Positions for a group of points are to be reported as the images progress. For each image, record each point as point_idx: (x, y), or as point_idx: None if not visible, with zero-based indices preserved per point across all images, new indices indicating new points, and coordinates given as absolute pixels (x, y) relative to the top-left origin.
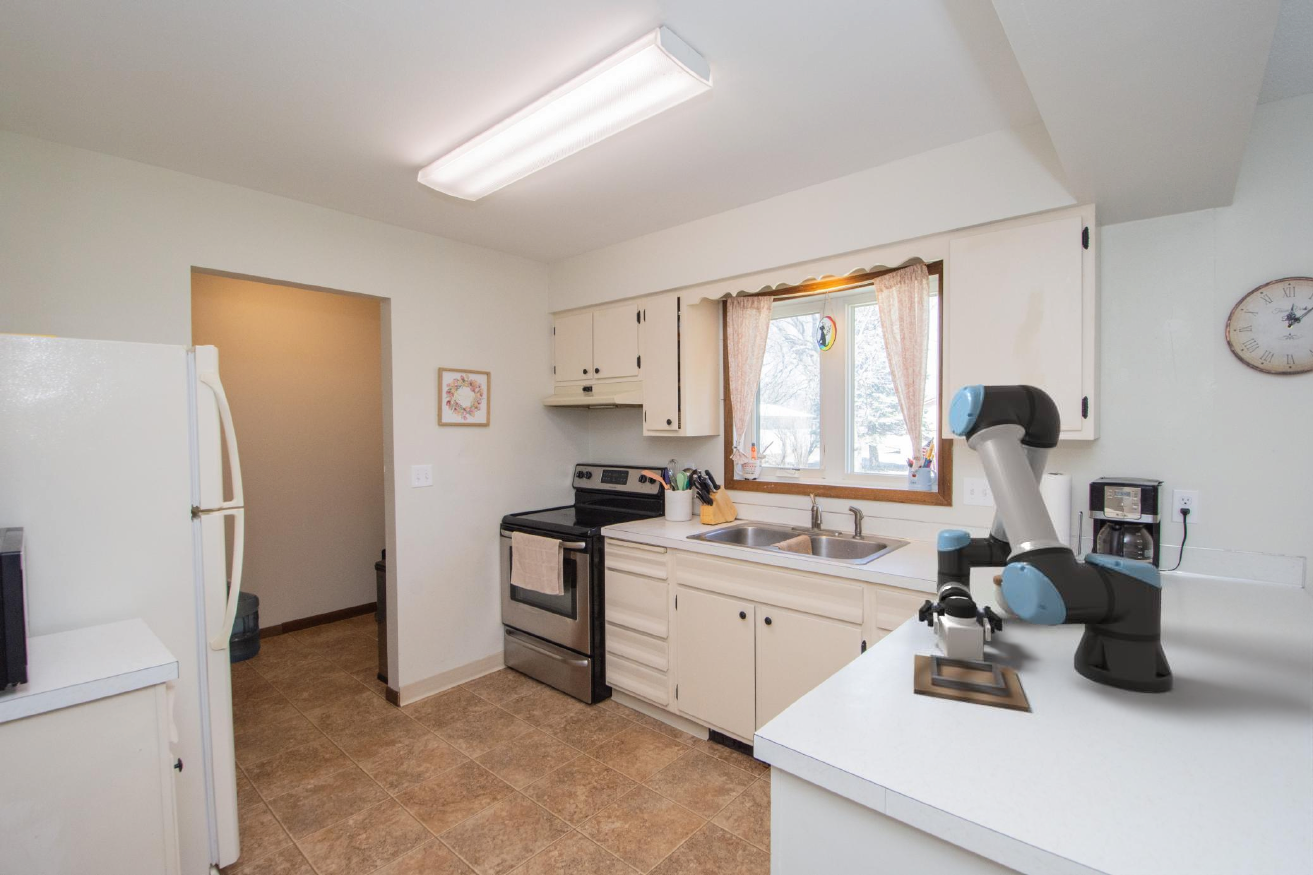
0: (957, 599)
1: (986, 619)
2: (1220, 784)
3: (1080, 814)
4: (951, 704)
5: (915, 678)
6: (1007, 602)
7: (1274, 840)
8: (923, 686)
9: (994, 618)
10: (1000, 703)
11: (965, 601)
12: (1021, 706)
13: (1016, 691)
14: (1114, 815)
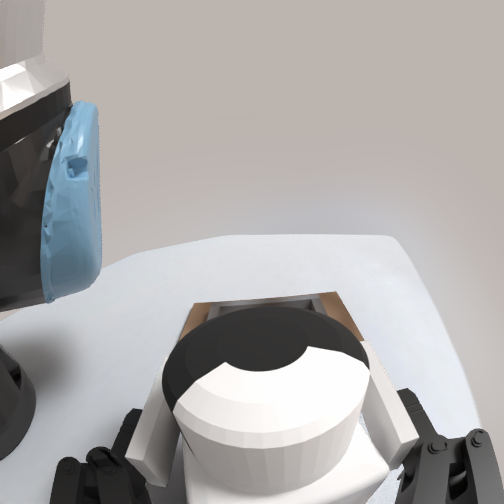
0: (282, 328)
1: (136, 441)
2: (111, 277)
3: (215, 246)
4: (287, 295)
5: (345, 311)
6: (94, 252)
7: (131, 258)
8: (327, 299)
9: (80, 491)
10: (226, 301)
11: (234, 319)
12: (202, 303)
13: (191, 329)
14: (197, 249)
